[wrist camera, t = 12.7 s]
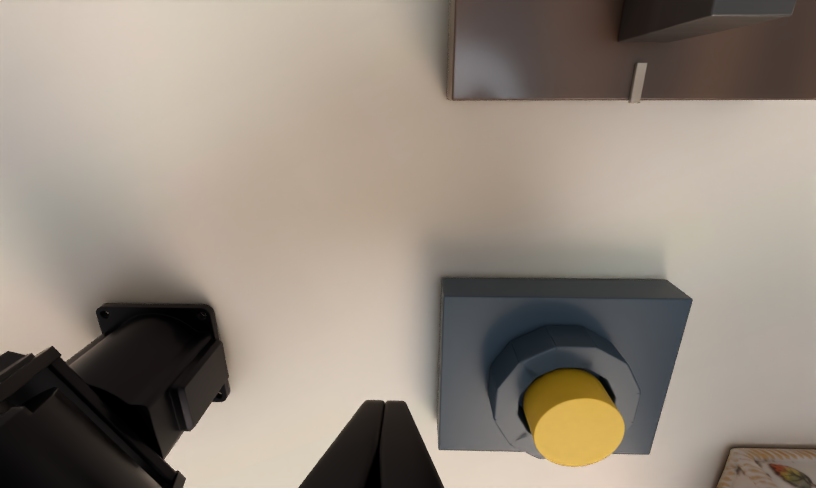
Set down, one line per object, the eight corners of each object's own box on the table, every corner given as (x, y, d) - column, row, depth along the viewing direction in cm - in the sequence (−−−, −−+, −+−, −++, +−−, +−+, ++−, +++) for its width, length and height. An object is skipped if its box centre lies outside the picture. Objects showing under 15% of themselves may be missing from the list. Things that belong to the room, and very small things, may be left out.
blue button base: (436, 421, 25) (439, 478, 21) (441, 276, 21) (445, 315, 18) (630, 425, 25) (668, 484, 21) (667, 279, 21) (720, 318, 17)
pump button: (518, 431, 20) (529, 466, 18) (526, 366, 19) (538, 397, 17) (597, 433, 20) (616, 468, 18) (611, 368, 19) (633, 399, 17)
